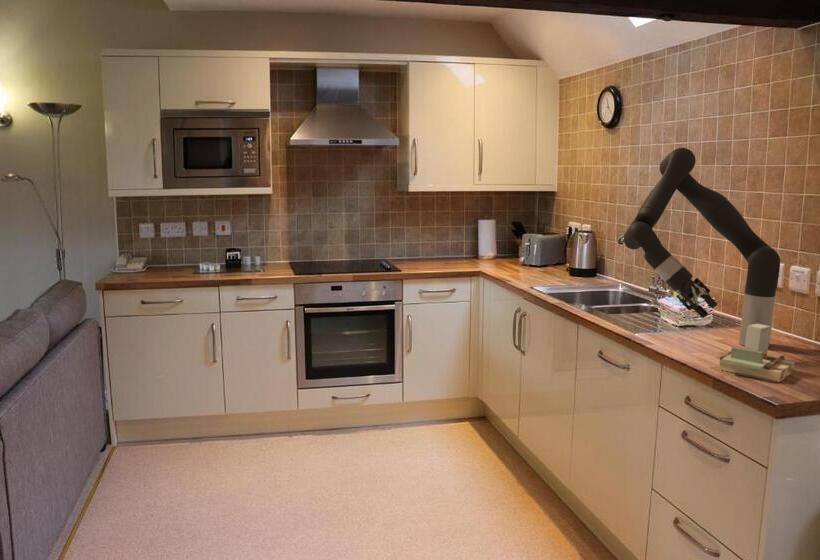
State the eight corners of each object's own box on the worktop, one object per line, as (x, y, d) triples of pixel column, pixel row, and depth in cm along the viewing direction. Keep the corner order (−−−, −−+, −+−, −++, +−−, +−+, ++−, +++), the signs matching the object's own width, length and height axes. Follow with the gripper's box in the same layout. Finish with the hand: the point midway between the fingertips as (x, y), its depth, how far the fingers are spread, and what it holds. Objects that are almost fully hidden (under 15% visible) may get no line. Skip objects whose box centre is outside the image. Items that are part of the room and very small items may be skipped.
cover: (731, 355, 205) (733, 343, 204) (770, 363, 198) (772, 350, 197) (721, 361, 199) (722, 348, 198) (761, 369, 192) (762, 356, 191)
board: (736, 359, 213) (738, 347, 213) (794, 371, 203) (795, 358, 202) (719, 370, 202) (720, 356, 201) (778, 382, 191) (780, 368, 190)
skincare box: (756, 368, 202) (761, 328, 200) (742, 364, 205) (746, 325, 203) (766, 365, 206) (771, 325, 204) (752, 361, 209) (756, 323, 207)
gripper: (673, 272, 228) (709, 309, 224) (656, 287, 218) (693, 326, 214) (690, 259, 223) (727, 296, 219) (672, 273, 213) (711, 312, 209)
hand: (710, 311), depth 217 cm, fingers open, 8 cm apart
